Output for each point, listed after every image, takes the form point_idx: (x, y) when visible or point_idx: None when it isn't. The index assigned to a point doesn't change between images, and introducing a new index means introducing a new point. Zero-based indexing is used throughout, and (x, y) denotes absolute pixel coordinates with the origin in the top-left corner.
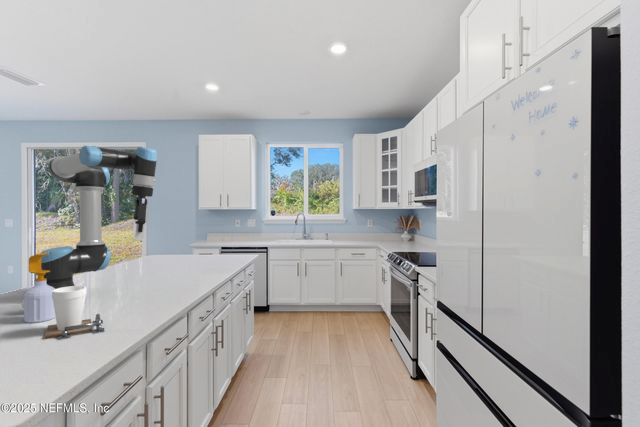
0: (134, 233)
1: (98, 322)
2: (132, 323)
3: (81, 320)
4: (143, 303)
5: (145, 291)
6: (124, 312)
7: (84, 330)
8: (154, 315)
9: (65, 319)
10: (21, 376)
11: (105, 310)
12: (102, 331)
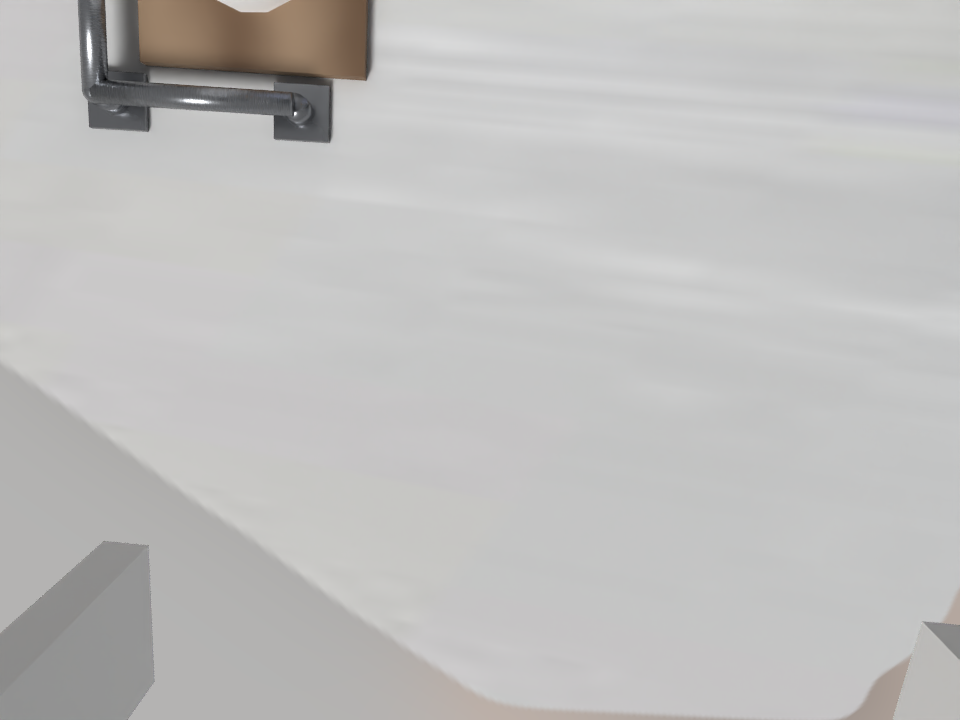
0: (936, 691)
1: (83, 86)
2: (166, 285)
3: (222, 1)
4: (591, 417)
5: (928, 487)
6: (442, 281)
7: (140, 25)
8: (259, 421)
9: None
10: None
11: (570, 185)
12: (90, 117)
